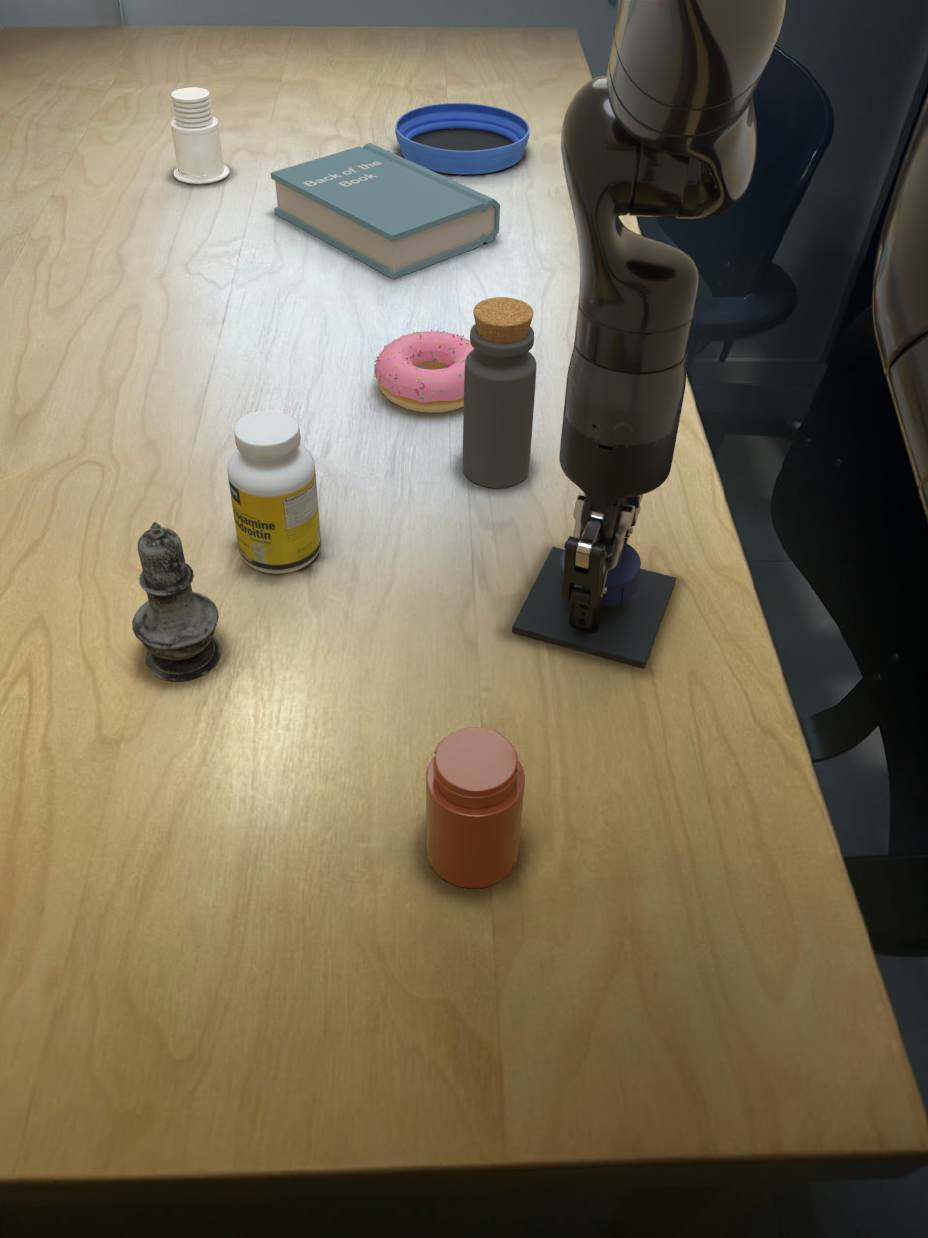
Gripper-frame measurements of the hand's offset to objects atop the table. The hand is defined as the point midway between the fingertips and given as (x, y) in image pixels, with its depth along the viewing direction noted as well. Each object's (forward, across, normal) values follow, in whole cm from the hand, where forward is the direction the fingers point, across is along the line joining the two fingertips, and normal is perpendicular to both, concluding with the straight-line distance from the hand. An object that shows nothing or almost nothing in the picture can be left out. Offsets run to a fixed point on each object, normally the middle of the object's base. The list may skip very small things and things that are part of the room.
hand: (595, 599), depth 83 cm
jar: (+1, +24, -1) cm, 24 cm away
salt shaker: (+1, +16, -26) cm, 30 cm away
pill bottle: (+1, +3, -25) cm, 25 cm away
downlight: (+1, -61, -70) cm, 93 cm away
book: (+1, -56, -42) cm, 70 cm away
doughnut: (+1, -24, -23) cm, 33 cm away
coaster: (+1, 0, 0) cm, 1 cm away
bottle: (+1, -14, -13) cm, 19 cm away
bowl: (+1, -82, -42) cm, 92 cm away
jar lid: (-3, 0, 0) cm, 3 cm away
